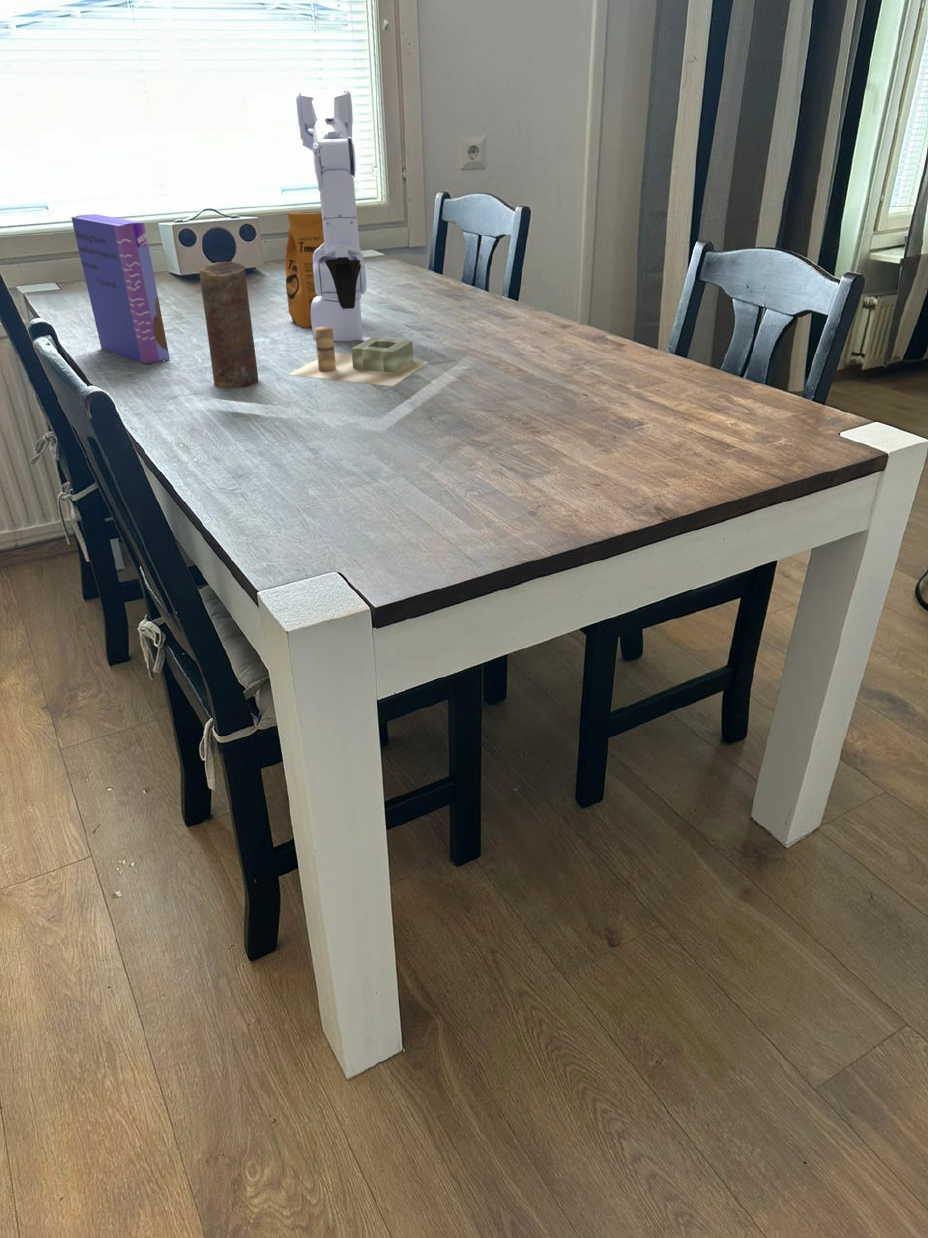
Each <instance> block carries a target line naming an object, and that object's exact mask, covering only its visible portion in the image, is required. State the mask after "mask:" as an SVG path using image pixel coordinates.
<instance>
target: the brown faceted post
mask: <svg viewBox="0 0 928 1238" xmlns="http://www.w3.org/2000/svg"><path fill="white" fill-rule="evenodd" d="M198 273H199V281H200V287H201V288H200V289H201V296H202V303H203V311H204V315H205V317H204V318H205V325H206V330H207V332H206V333H207V337H208V338H207V340H208V345H209V354H210V362H211V369H212V377H213V379H212V380H213V384H214V386H215V387H217V388H220V389H229V390H230V389H244V388H249V387H251V386H254V385H256V384H257V383H258V382H259V374H258V373H259V372H258V364H257V357H256V349H255V348H256V347H255V341H254V334H253V325H252V318H251V317H252V316H251V309H250V303H249V302H250V301H249V292H248V283H247V275H246V267H245V266H244V265H243V264H242V263H240V262H236V261H235V262H234V261H222V262H220V261H217V262H214V263H210V264H209V265H205V266H204V267H202V268H201V269H199V270H198Z"/></svg>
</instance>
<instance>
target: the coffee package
mask: <svg viewBox="0 0 928 1238" xmlns="http://www.w3.org/2000/svg"><path fill="white" fill-rule="evenodd" d="M287 218H288V224H289V227H288V232H287V233H288V235H287V243H286V249H285V250H286V254H285V258H284V259H285V260H284V261H285V269H284V270H285V290H286V297H287V307H288V313H289V315H290V317H291V320H292V322H293V323H295V324H296V325H297V326H298V327H301V328H304V329H306V328H312V323H311V304H312V301H313V299H314V298H315V297H316V296H318V295H317V294H316V292H315V284H314V273H313V255H314V251H315V250H316V249H318V248H319V247H320V246H321V245H322V244H323V243H324V232H323V222H322V211H319V212H315V213H313V212H312V213H305V212H289V211H287ZM321 296H322V293H321Z"/></svg>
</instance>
